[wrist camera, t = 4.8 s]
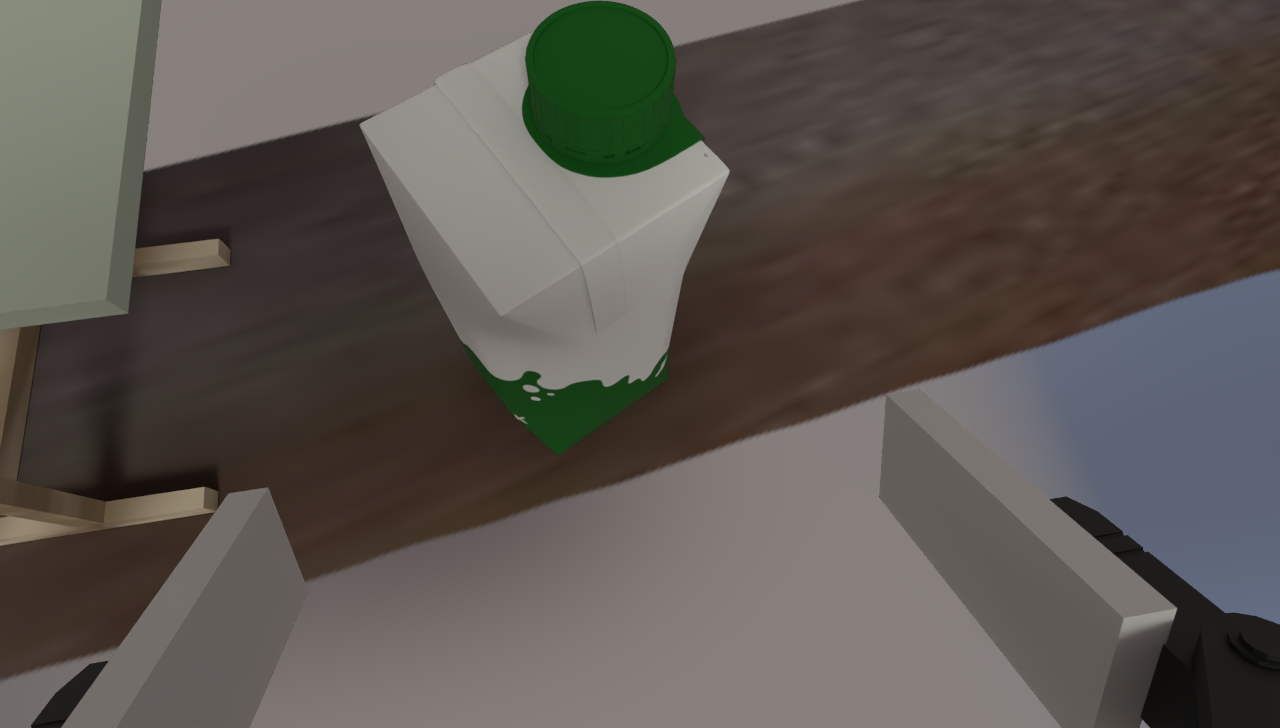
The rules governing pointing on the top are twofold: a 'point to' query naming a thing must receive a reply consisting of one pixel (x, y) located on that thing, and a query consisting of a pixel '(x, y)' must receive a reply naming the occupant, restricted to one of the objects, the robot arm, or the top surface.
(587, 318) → the soya milk
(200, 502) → the trapdoor stand
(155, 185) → the top surface
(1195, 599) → the robot arm
